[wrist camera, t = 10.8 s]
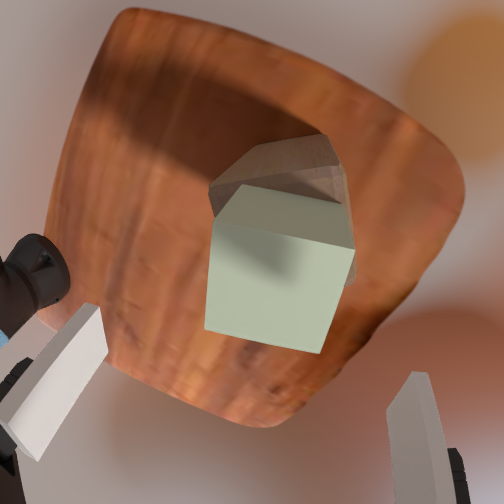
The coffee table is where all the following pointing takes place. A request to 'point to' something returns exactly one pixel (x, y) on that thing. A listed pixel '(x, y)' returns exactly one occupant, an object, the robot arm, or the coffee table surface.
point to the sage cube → (277, 268)
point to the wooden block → (289, 175)
